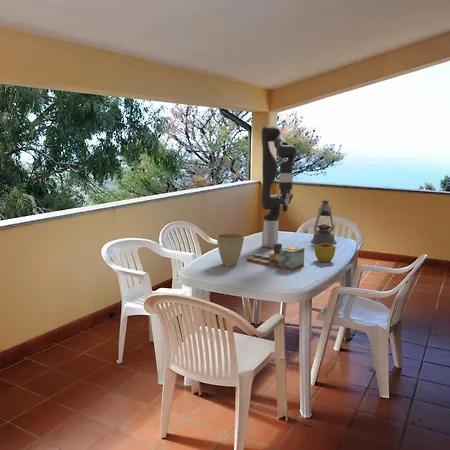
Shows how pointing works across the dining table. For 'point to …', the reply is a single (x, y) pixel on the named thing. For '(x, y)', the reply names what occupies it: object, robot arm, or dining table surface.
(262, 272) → the dining table surface
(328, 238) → the lantern
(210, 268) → the dining table surface
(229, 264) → the plant pot
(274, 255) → the carriage
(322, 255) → the flower pot
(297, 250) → the rail rig
